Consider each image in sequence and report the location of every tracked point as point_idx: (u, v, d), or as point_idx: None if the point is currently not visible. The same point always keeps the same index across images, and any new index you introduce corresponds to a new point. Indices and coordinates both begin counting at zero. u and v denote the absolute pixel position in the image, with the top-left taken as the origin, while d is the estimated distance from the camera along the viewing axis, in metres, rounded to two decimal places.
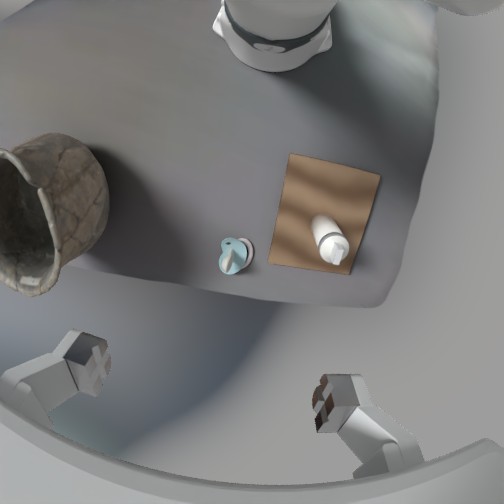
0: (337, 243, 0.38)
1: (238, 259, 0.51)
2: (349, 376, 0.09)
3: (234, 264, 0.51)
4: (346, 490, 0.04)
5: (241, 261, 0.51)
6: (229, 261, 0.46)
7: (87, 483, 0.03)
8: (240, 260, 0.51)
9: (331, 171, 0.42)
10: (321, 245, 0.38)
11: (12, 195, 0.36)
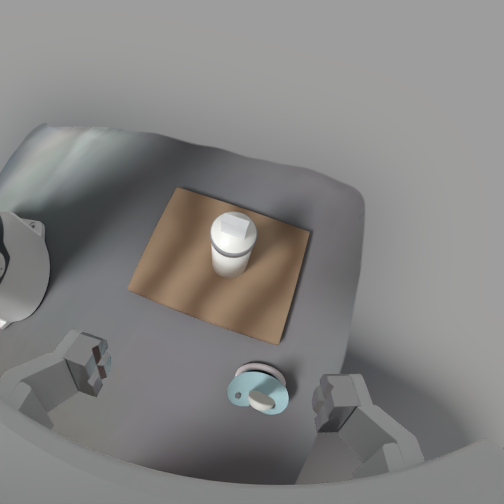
0: None
1: (268, 385, 0.30)
2: (349, 376, 0.09)
3: (275, 392, 0.30)
4: (346, 489, 0.04)
5: (271, 381, 0.30)
6: (254, 398, 0.26)
7: (87, 483, 0.03)
8: (269, 383, 0.30)
9: (158, 243, 0.35)
10: (223, 250, 0.26)
11: None
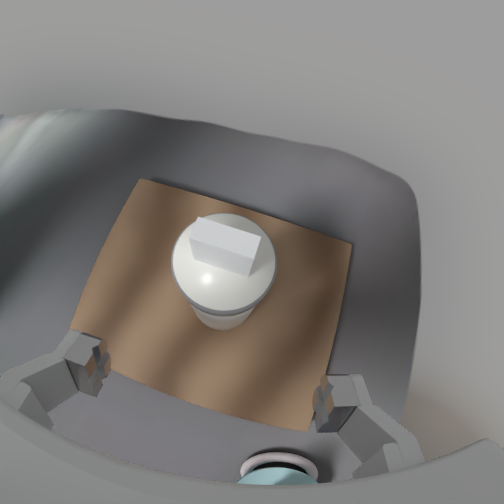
0: None
1: (291, 481, 0.15)
2: (349, 376, 0.09)
3: None
4: (346, 489, 0.04)
5: (297, 477, 0.15)
6: None
7: (87, 483, 0.03)
8: (294, 478, 0.15)
9: (108, 270, 0.20)
10: (201, 304, 0.11)
11: None
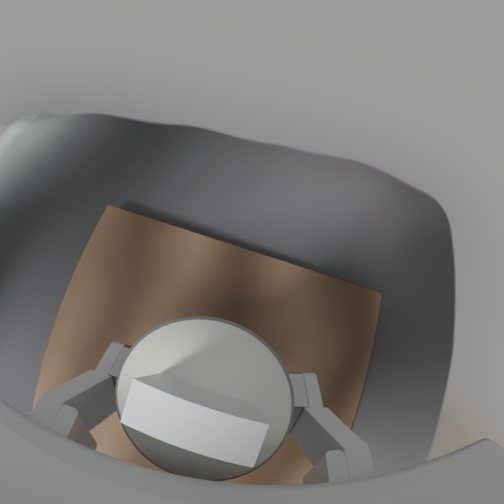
0: None
1: None
2: (301, 374, 0.09)
3: None
4: (346, 490, 0.04)
5: None
6: None
7: (87, 483, 0.03)
8: None
9: (70, 329, 0.14)
10: (169, 471, 0.05)
11: None
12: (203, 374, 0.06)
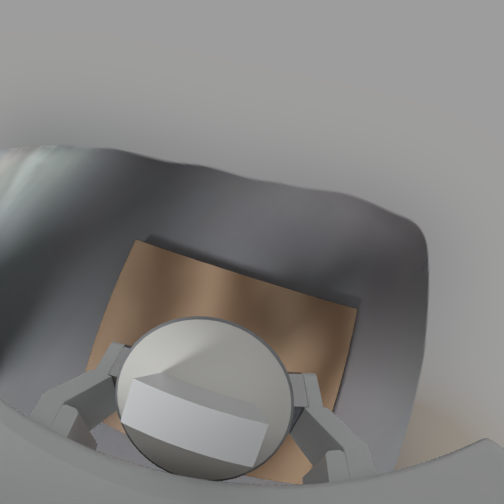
0: None
1: None
2: (301, 375, 0.09)
3: None
4: (346, 489, 0.04)
5: None
6: None
7: (87, 483, 0.03)
8: None
9: (111, 341, 0.19)
10: (169, 471, 0.05)
11: None
12: (203, 374, 0.06)
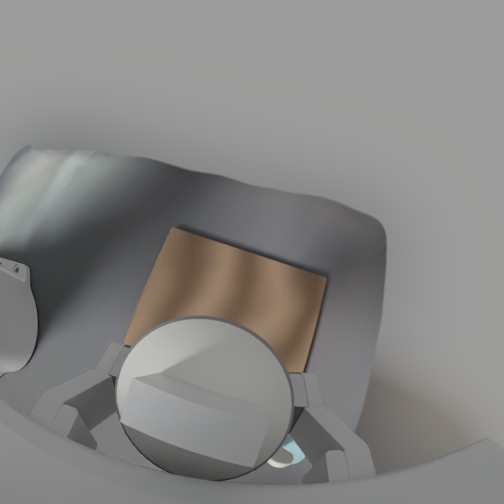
0: None
1: None
2: (301, 375, 0.09)
3: (292, 442, 0.25)
4: (346, 490, 0.04)
5: None
6: None
7: (87, 483, 0.03)
8: None
9: (153, 297, 0.29)
10: (169, 471, 0.05)
11: None
12: (203, 373, 0.06)
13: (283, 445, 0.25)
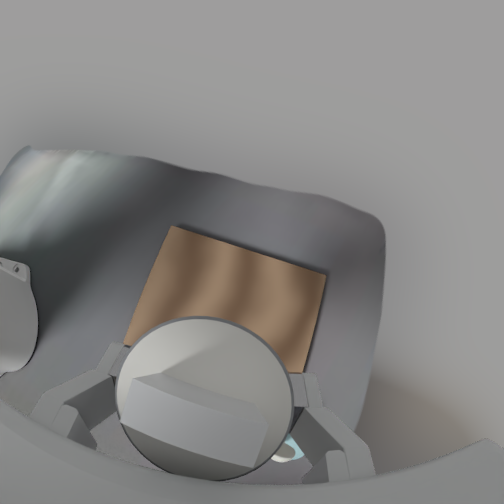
0: None
1: None
2: (301, 375, 0.09)
3: None
4: (346, 489, 0.04)
5: None
6: None
7: (87, 483, 0.03)
8: None
9: (153, 295, 0.30)
10: (169, 471, 0.05)
11: None
12: (203, 374, 0.06)
13: (285, 440, 0.25)
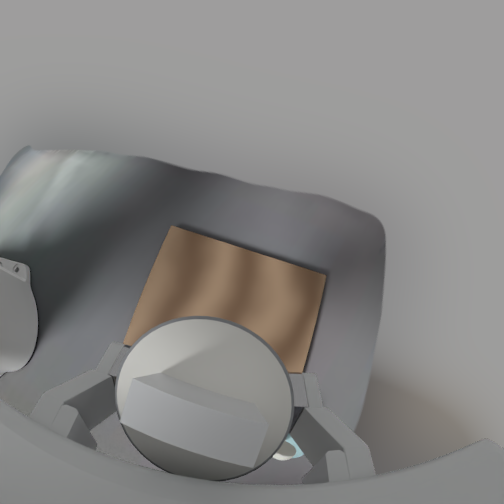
0: None
1: None
2: (301, 375, 0.09)
3: None
4: (346, 490, 0.04)
5: None
6: None
7: (87, 483, 0.03)
8: None
9: (153, 295, 0.30)
10: (169, 471, 0.05)
11: None
12: (203, 374, 0.06)
13: (286, 438, 0.25)
